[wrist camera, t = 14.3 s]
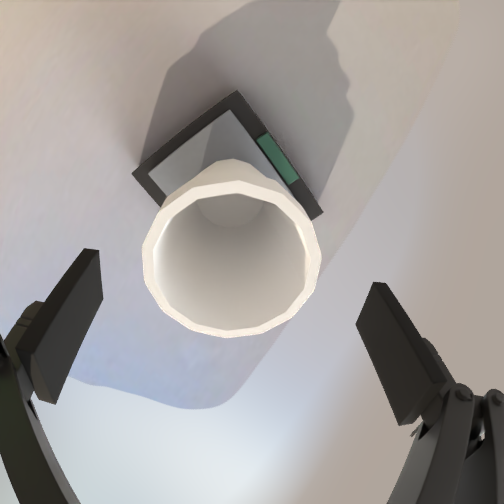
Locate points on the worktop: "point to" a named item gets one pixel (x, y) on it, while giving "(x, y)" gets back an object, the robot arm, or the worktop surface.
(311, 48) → the worktop surface
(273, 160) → the scale
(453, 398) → the robot arm
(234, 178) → the foam cup
